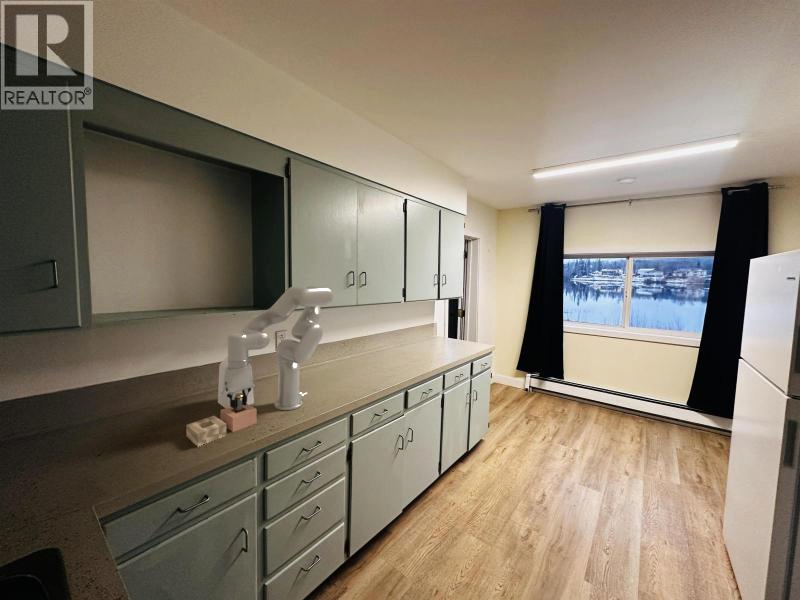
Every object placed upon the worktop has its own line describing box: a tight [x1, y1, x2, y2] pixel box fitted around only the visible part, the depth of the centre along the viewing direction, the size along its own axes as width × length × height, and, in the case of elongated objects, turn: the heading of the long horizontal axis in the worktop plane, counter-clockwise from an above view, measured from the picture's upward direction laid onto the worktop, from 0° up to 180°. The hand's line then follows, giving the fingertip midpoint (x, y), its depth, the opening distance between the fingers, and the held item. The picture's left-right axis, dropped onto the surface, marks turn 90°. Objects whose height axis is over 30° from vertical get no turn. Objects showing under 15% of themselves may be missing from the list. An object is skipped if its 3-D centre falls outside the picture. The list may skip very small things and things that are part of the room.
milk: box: [217, 355, 255, 409], centre depth 153 cm, size 12×12×26 cm
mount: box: [185, 415, 227, 448], centre depth 124 cm, size 10×10×5 cm
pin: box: [235, 393, 244, 413], centre depth 135 cm, size 4×4×11 cm
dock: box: [220, 404, 258, 433], centre depth 135 cm, size 10×10×6 cm
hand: (238, 405), depth 135 cm, fingers closed on pin, 3 cm apart
